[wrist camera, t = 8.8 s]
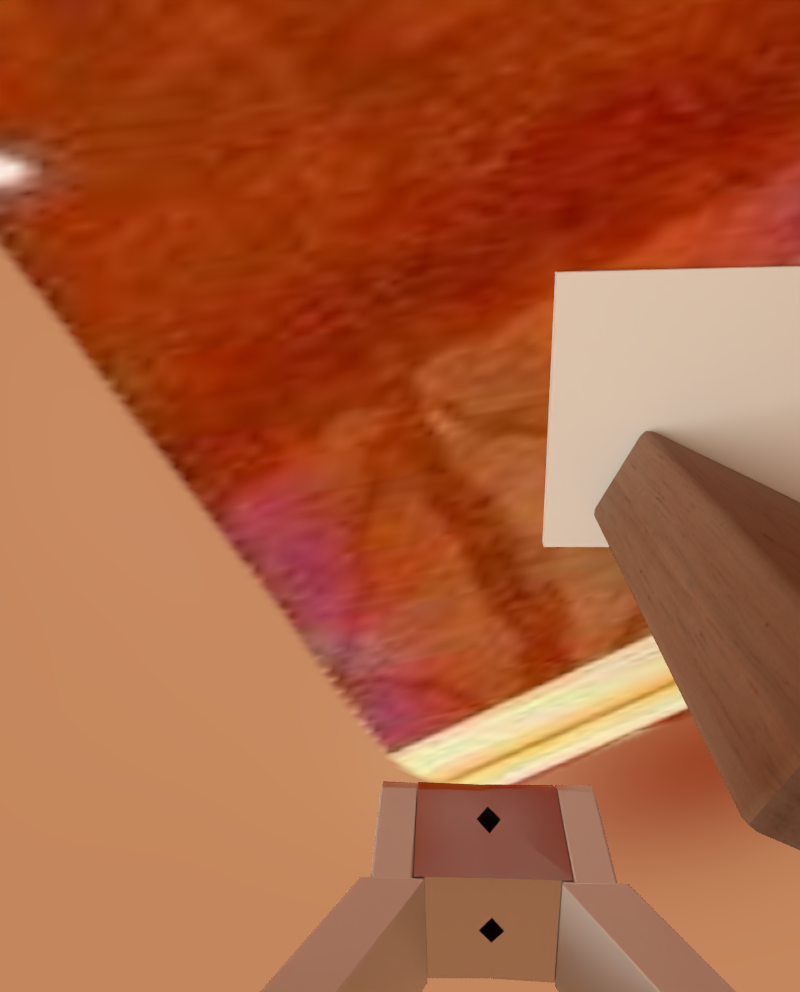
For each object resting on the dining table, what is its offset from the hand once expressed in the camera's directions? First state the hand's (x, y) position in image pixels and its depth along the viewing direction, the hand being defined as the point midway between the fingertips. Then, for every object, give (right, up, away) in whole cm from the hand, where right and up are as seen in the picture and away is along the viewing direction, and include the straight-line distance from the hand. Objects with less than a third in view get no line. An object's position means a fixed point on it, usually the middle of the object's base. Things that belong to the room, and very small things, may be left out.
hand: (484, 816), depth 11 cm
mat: (+13, +8, +20) cm, 26 cm away
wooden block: (+12, +4, +22) cm, 25 cm away
